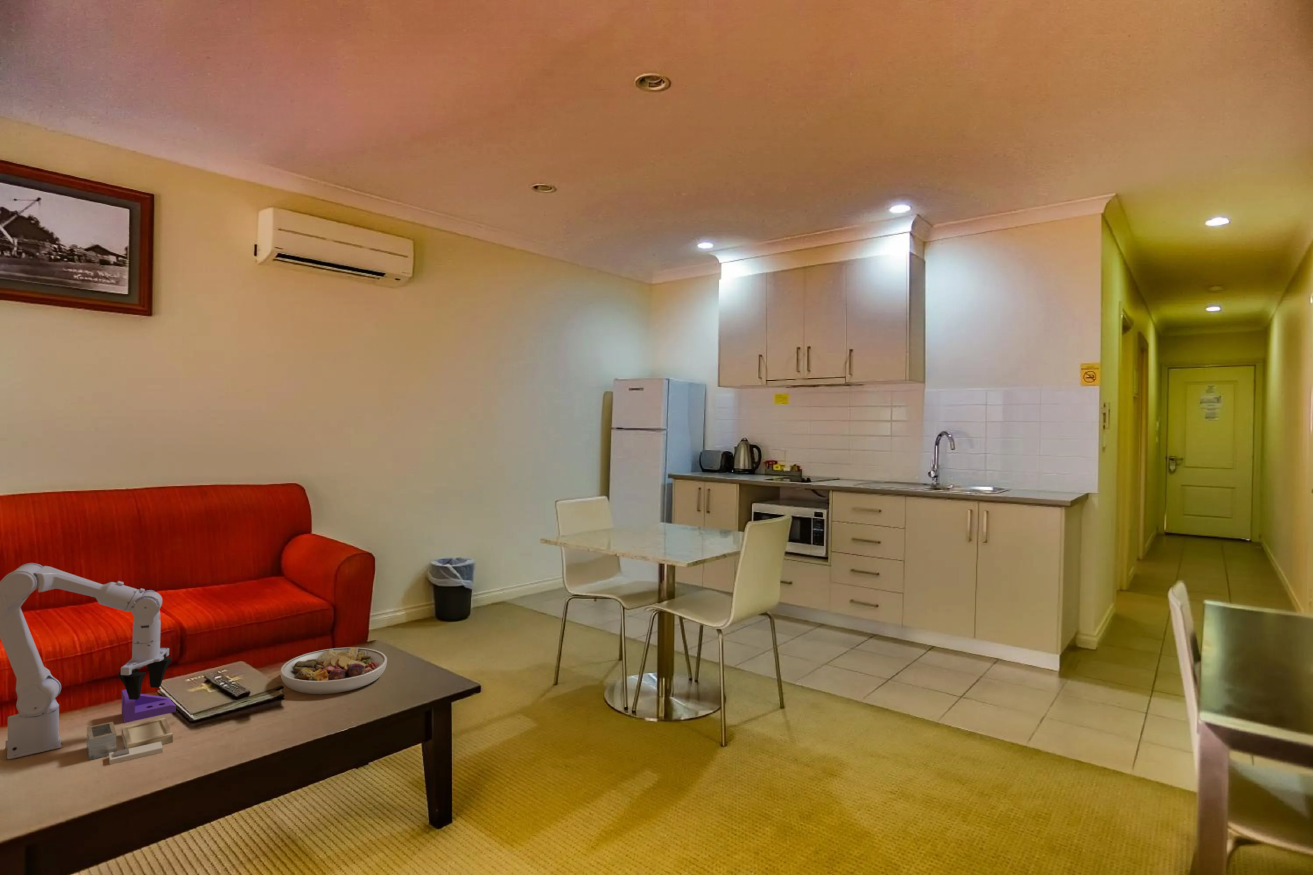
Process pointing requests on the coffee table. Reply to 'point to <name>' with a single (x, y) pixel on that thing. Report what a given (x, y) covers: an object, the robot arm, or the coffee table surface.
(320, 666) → the bowl
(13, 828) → the coffee table surface
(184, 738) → the coffee table surface
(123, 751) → the block
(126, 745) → the beige shallow tray
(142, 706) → the bracket
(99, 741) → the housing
